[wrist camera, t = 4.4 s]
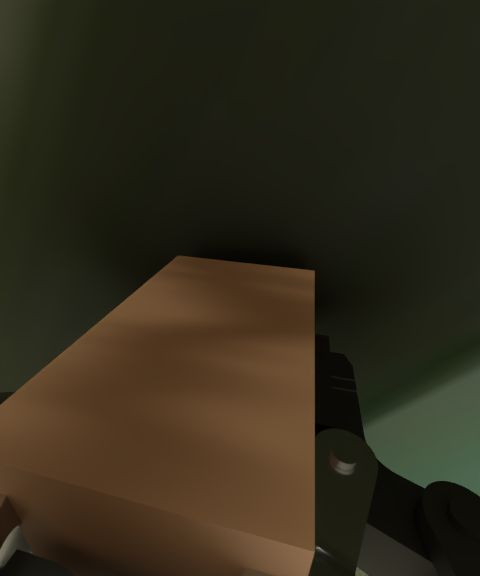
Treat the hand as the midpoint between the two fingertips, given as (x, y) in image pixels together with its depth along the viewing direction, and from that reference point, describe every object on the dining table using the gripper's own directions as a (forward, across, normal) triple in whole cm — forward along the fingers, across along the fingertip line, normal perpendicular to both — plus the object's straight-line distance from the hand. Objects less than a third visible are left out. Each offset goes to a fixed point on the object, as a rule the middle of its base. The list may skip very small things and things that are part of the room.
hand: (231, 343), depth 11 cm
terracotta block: (+1, 0, 0) cm, 1 cm away
